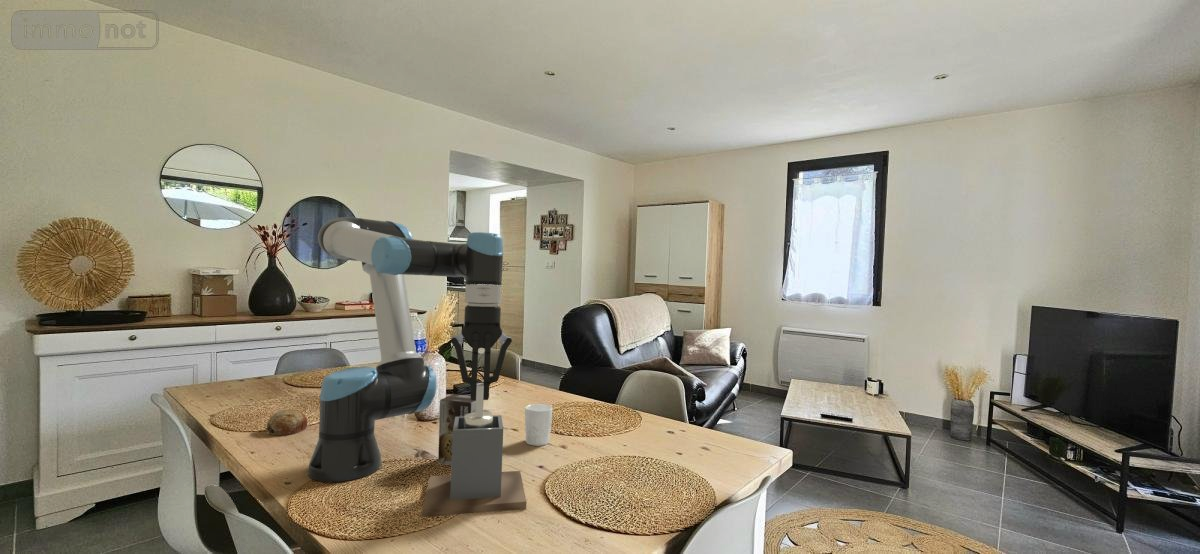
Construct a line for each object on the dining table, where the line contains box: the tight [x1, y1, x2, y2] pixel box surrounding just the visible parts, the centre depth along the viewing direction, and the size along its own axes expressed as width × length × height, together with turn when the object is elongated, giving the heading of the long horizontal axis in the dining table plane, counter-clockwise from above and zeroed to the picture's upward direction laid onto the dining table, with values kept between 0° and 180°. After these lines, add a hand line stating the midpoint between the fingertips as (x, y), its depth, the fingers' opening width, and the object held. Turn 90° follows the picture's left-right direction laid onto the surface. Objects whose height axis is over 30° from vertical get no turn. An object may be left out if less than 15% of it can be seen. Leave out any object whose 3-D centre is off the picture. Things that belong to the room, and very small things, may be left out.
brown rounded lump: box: [266, 408, 308, 436], centre depth 139 cm, size 10×10×8 cm
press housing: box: [450, 414, 504, 501], centre depth 102 cm, size 10×10×14 cm
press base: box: [421, 470, 527, 518], centre depth 102 cm, size 20×16×2 cm
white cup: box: [524, 403, 553, 447], centre depth 137 cm, size 8×8×10 cm
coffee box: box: [437, 393, 476, 466], centre depth 120 cm, size 9×6×16 cm
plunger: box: [464, 411, 494, 429], centre depth 102 cm, size 8×8×15 cm
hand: (479, 415), depth 102 cm, fingers closed
